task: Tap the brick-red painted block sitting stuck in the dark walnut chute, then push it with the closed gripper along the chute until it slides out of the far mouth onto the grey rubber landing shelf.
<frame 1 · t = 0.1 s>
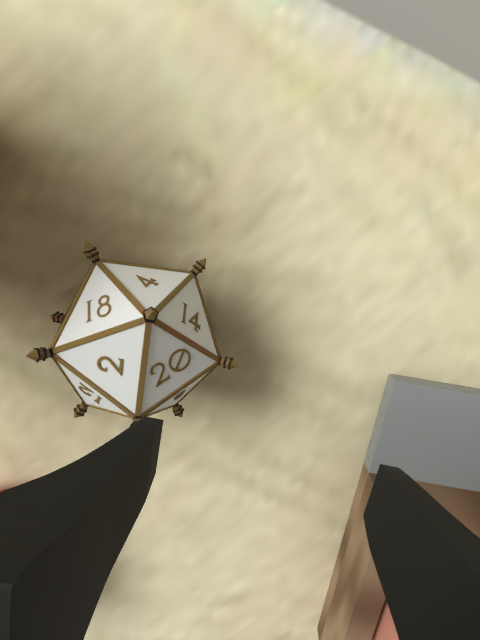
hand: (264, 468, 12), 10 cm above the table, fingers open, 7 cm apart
landing shelf: (449, 431, 22), on the table
chute: (404, 562, 25), on the table
game die: (162, 317, 22), on the table
block: (427, 618, 21), point 4 cm above the table, slide at 0.0 cm
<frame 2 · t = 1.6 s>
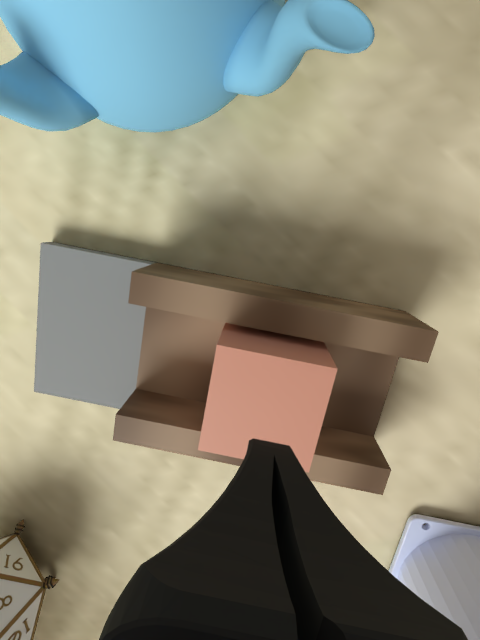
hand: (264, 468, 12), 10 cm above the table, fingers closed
landing shelf: (97, 326, 22), on the table
teapot: (168, 19, 18), on the table
chute: (264, 360, 22), on the table
game die: (23, 551, 27), on the table
block: (264, 386, 18), point 4 cm above the table, slide at 0.0 cm
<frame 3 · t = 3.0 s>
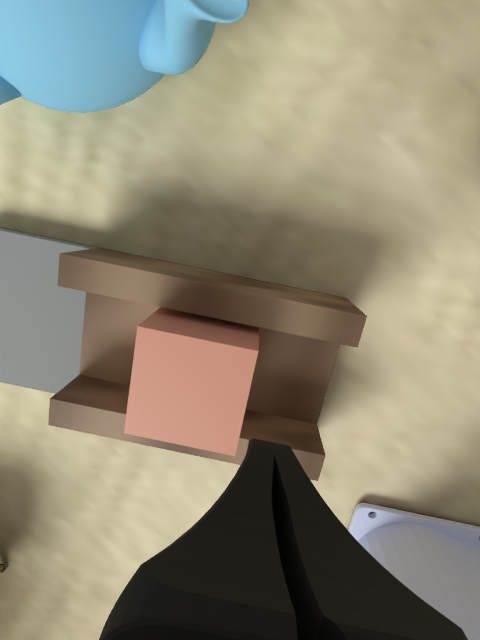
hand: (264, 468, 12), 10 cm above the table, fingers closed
landing shelf: (40, 312, 22), on the table
teapot: (102, 0, 18), on the table
chute: (208, 347, 21), on the table
block: (198, 370, 18), point 4 cm above the table, slide at 0.0 cm
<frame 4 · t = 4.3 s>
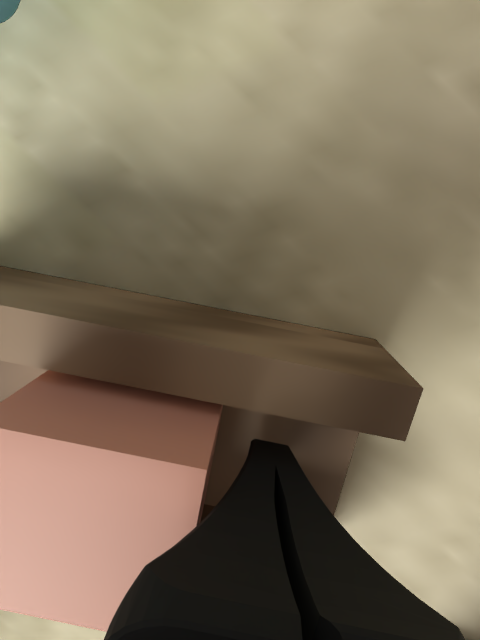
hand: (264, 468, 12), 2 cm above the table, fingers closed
chute: (163, 411, 14), on the table
block: (121, 470, 11), point 4 cm above the table, slide at 0.3 cm, touching gripper
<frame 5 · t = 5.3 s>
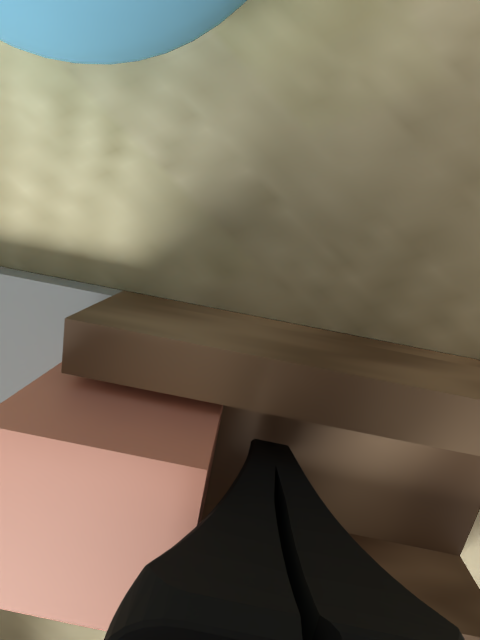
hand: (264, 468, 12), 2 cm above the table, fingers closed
landing shelf: (36, 386, 14), on the table
chute: (290, 436, 14), on the table
block: (121, 470, 11), point 4 cm above the table, slide at 5.3 cm, touching gripper
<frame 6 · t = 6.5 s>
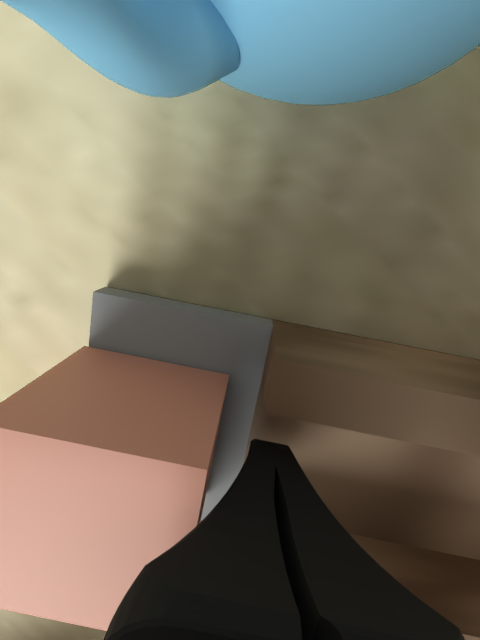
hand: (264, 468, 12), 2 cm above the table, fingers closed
landing shelf: (171, 413, 14), on the table
chute: (428, 464, 14), on the table
block: (121, 470, 11), point 4 cm above the table, slide at 10.6 cm, touching gripper
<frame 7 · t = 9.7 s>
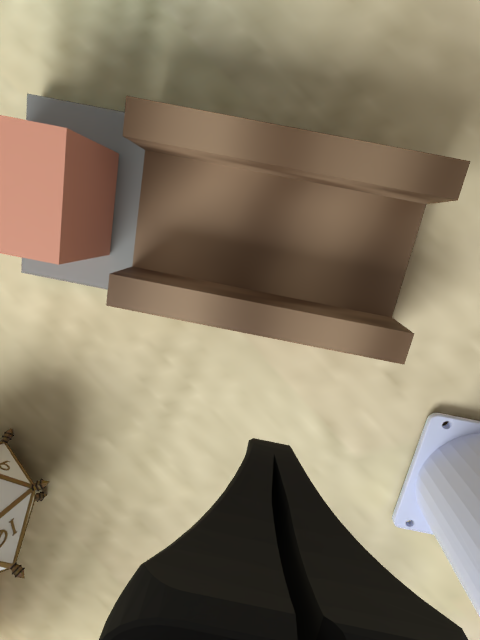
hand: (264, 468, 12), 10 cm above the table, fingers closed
landing shelf: (90, 200, 20), on the table
chute: (272, 236, 20), on the table
game die: (12, 465, 25), on the table
block: (37, 192, 16), point 4 cm above the table, slide at 10.7 cm
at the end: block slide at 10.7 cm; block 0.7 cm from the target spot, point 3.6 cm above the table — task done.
